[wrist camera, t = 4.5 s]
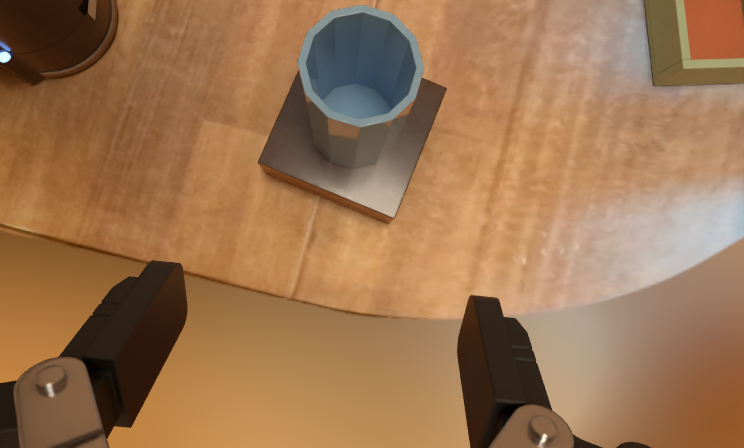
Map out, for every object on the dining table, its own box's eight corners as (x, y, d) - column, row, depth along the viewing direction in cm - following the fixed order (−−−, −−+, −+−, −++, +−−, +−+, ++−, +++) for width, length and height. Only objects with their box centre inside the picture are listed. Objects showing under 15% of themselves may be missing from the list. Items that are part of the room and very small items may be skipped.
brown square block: (388, 224, 38) (394, 218, 34) (265, 173, 37) (257, 162, 33) (435, 106, 39) (447, 88, 35) (317, 56, 38) (315, 32, 34)
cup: (353, 185, 34) (359, 150, 24) (292, 122, 34) (273, 60, 24) (415, 126, 34) (447, 68, 24) (355, 64, 34) (363, -18, 25)
